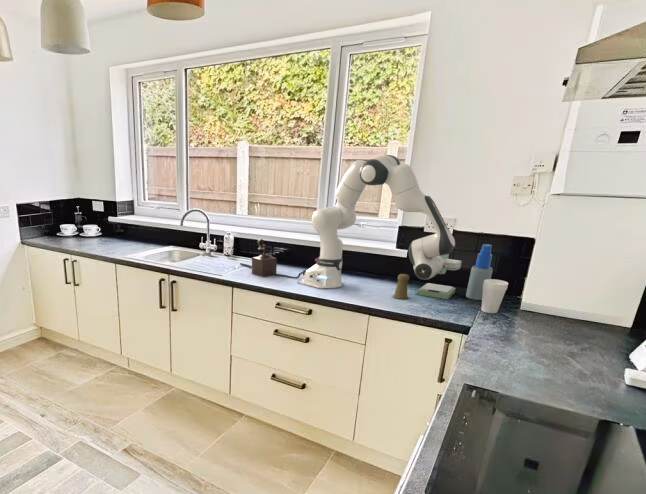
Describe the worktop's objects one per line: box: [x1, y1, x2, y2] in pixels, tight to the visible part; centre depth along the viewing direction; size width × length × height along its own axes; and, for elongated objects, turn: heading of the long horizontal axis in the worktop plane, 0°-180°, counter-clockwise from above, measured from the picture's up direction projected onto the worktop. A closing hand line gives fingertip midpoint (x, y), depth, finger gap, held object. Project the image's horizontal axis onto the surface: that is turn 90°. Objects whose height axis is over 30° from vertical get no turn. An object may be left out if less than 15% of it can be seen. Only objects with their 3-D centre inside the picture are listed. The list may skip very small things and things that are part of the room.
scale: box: [417, 282, 456, 300], centre depth 224 cm, size 14×14×3 cm
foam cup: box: [480, 278, 509, 314], centre depth 198 cm, size 10×9×13 cm
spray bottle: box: [465, 243, 494, 301], centre depth 214 cm, size 9×9×25 cm
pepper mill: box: [251, 238, 278, 278], centre depth 258 cm, size 16×11×18 cm
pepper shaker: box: [393, 273, 410, 300], centre depth 216 cm, size 6×6×11 cm
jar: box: [437, 254, 450, 275], centre depth 217 cm, size 6×6×11 cm
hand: (441, 259), depth 218 cm, fingers closed on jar, 6 cm apart
